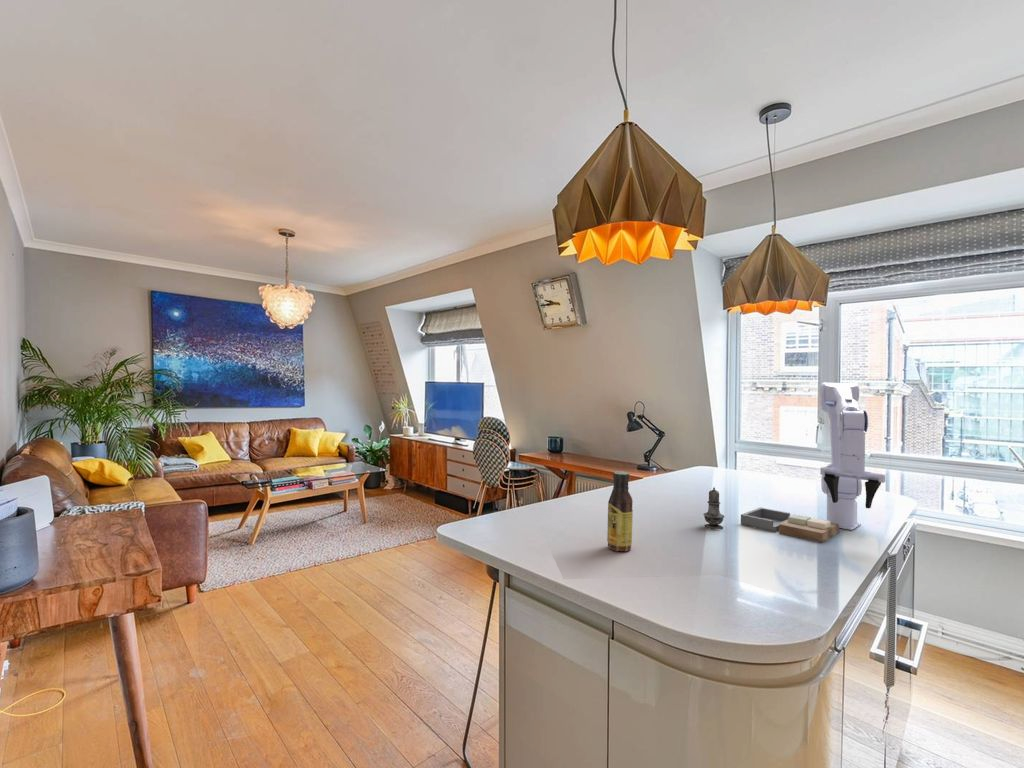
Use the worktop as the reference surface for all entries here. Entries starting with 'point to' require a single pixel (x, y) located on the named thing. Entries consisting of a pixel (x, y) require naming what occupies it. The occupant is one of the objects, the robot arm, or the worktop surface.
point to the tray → (764, 519)
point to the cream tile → (818, 523)
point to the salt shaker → (713, 511)
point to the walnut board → (808, 531)
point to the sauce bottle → (620, 514)
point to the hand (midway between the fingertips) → (851, 504)
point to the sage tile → (798, 519)
